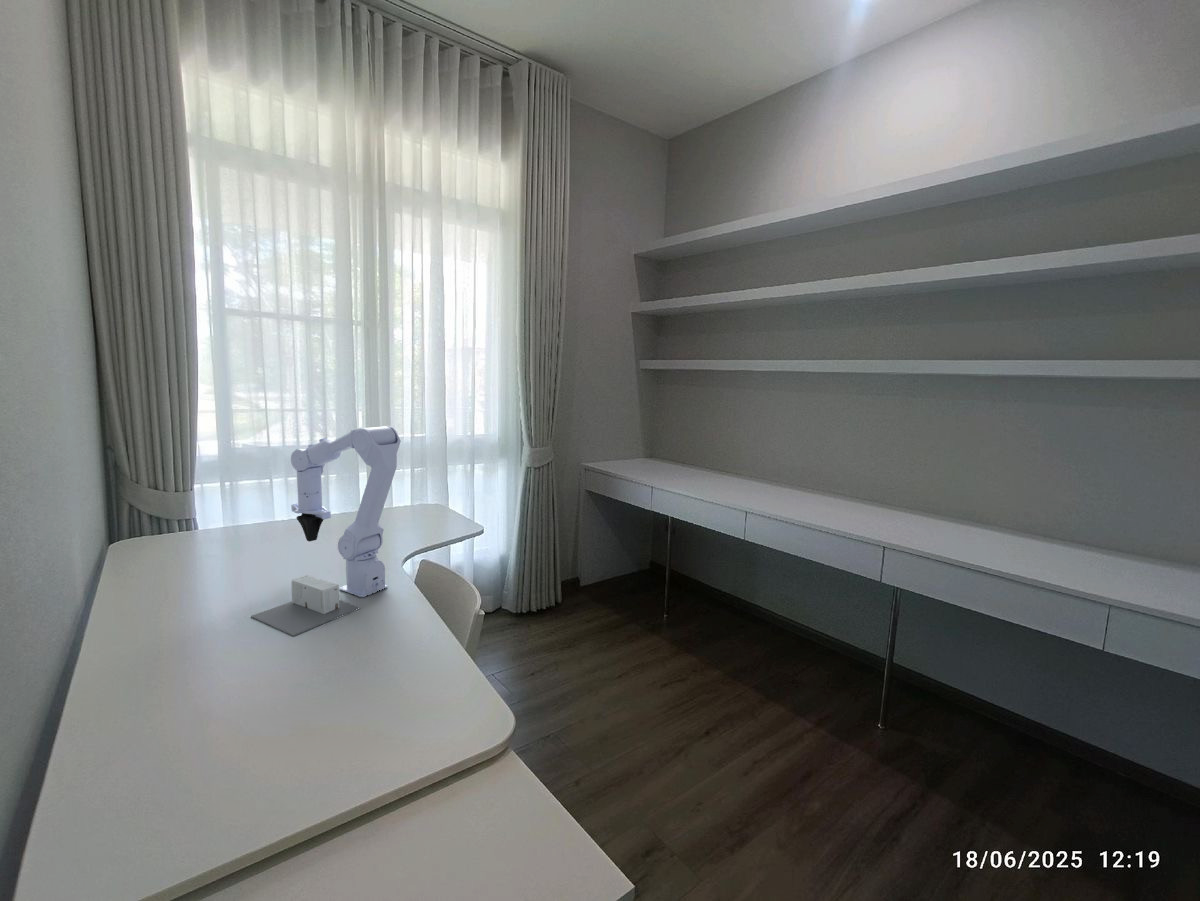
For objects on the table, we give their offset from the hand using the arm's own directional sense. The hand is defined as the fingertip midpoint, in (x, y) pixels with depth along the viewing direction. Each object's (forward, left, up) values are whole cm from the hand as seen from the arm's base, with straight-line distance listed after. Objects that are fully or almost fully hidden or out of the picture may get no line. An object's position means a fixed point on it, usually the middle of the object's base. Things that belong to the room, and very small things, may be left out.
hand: (311, 540), depth 140 cm
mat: (-20, +14, -10) cm, 26 cm away
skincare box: (-12, +11, -7) cm, 18 cm away
